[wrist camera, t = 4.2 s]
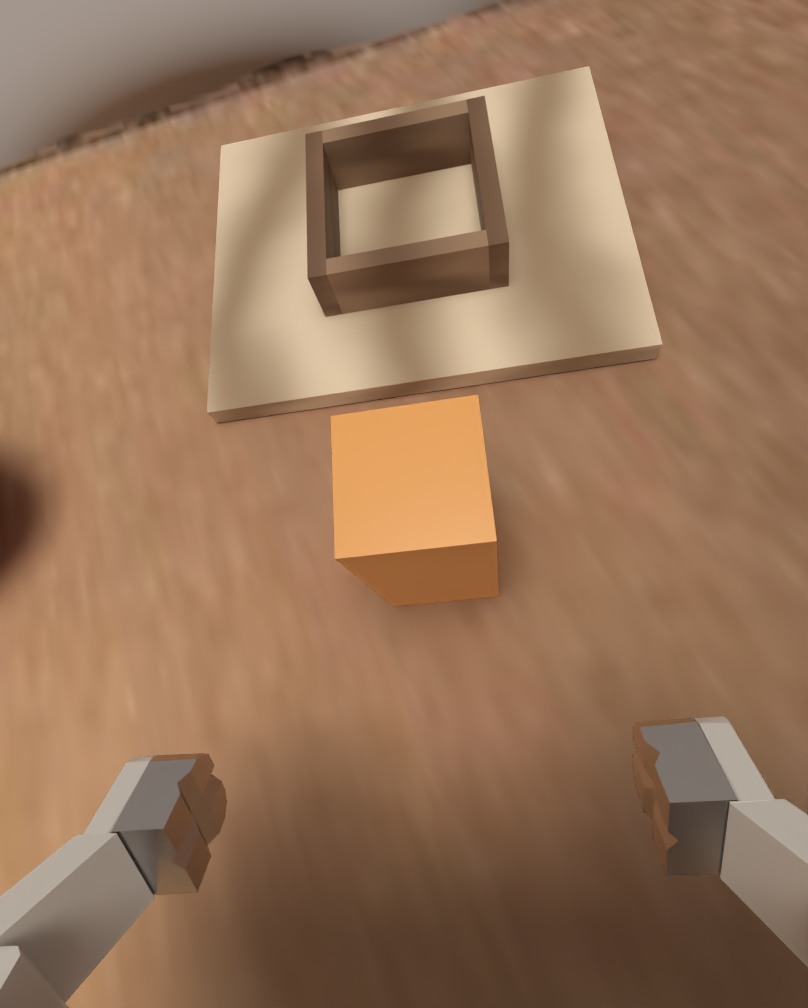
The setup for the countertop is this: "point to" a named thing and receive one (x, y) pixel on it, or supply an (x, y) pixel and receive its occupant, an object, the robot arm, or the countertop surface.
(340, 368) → the socket board
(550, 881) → the countertop surface
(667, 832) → the robot arm
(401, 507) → the orange cap block
